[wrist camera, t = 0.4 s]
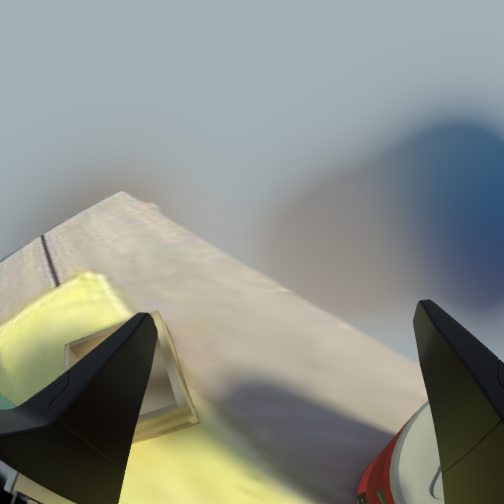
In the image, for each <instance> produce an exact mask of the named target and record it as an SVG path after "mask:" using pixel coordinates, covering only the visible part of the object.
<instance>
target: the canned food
mask: <svg viewBox="0 0 504 504" xmlns="http://www.w3.org/2000/svg"><path fill="white" fill-rule="evenodd" d="M357 504H444V494H443V484H442V473H441V466H440V459H439V453H438V446H437V440H436V435H435V429H434V424H433V419H432V414H431V409H430V404H429V400H428V401H427V402H426V403H425V404H424V405H423V406H422V407H421V408H420V409H419V410H418V411H417V412H416V413H415V414H414V415H413V416H412V417H411V418H410V419H409V421H408V422H406V424H405V425H404V426H403V427H402V429H401V430H400V431H399V432H398V433H397V435H396V436H395V437H394V438H393V439H392V440H391V442H390V443H389V444H388V445H387V446H386V447H385V448H384V449H383V451H382V452H381V453H380V454H379V455H378V456H377V457H376V458H375V459H374V460H373V461H372V463H371V464H370V465H369V466H368V467H367V469H366V471H365V472H364V474H363V475H362V478H361V480H360V483H359V486H358V491H357Z"/></svg>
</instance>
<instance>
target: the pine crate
mask: <svg viewBox="0 0 504 504" xmlns="http://www.w3.org/2000/svg"><path fill="white" fill-rule="evenodd" d="M149 314H150V315H151V316H152V319H153V321H154V323H155V325H156V327H157V330H158V337H157V342H156V348H155V353H154V359H153V364H152V369H151V374H150V377H149V381H148V384H147V388H146V392H145V395H144V399H143V402H142V406H141V410H140V413H139V417H138V421H137V425H136V429H135V433H134V437H133V441H132V444H133V443H136V442H140V441H144V440H147V439H151V438H154V437H157V436H161V435H164V434H167V433H170V432H173V431H176V430H179V429H182V428H185V427H188V426H191V425H194V424H197V423H200V422H199V420H198V417H197V414H196V412H195V409H194V406H193V403H192V400H191V397H190V395H189V392H188V389H187V386H186V383H185V380H184V377H183V374H182V371H181V368H180V365H179V361H178V358H177V355H176V352H175V348H174V345H173V342H172V338H171V335H170V331H169V330H168V328H167V326H166V324H165V322H164V321H163V319H162V317H161V315H160V313H159V311H158V310H156V311H153V312H151V313H149ZM125 323H126V322H124V323H122V324H119V325H116V326H114V327H111V328H108V329H106V330H103V331H100V332H98V333H95V334H92V335H90V336H87V337H84V338H81V339H79V340H76V341H73V342H70V343H68V344H65V355H64V373H65V372H66V371H67V370H68V369H70V368H71V367H72V366H73V365H74V364H75V363H77V362H78V361H79V360H80V359H82V358H83V357H84V356H85V355H86V354H88V353H89V352H90V351H91V350H92V349H94V348H95V347H96V346H97V345H99V344H100V343H101V342H102V341H104V340H105V339H106V338H107V337H108V336H110V335H111V334H112V333H113V332H115V331H116V330H117V329H118V328H120V327H121V326H122V325H123V324H125Z"/></svg>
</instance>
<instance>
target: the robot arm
mask: <svg viewBox="0 0 504 504" xmlns="http://www.w3.org/2000/svg"><path fill="white" fill-rule="evenodd" d="M413 326H414V332H415V337H416V343H417V349H418V354H419V362H420V367H421V371H422V375H423V379H424V383H425V387H426V391H427V396H428V400H429V404H430V409H431V414H432V419H433V424H434V429H435V435H436V440H437V446H438V453H439V459H440V466H441V473H442V484H443V494H444V504H504V363H503V362H502V361H501V360H500V359H499V360H498V357H497V356H496V355H494V354H493V353H492V352H491V351H490V350H489V349H488V348H487V347H486V346H485V345H483V344H482V343H481V342H480V341H479V340H478V339H477V338H476V337H474V336H473V335H472V334H471V333H470V332H469V331H467V330H466V329H465V328H464V327H463V326H462V325H461V324H459V323H458V322H457V321H456V320H455V319H454V318H452V317H451V316H450V315H449V314H448V313H446V312H445V311H444V310H443V309H441V308H440V307H439V306H438V305H437V304H435V303H434V302H433V301H431V300H429V299H427V300H420V301H419V302H418V304H417V307H416V311H415V315H414V319H413ZM157 337H158V330H157V327H156V325H155V323H154V321H153V319H152V316H151V315H150V314H149V313H145V312H140V313H137V314H136V315H135V316H133V317H132V318H131V319H130V320H128V321H127V322H126V323H125V324H123V325H122V326H121V327H120V328H118V329H117V330H116V331H115V332H113V333H112V334H111V335H110V336H108V337H107V338H106V339H105V340H104V341H102V342H101V343H100V344H99V345H97V346H96V347H95V348H94V349H92V350H91V351H90V352H89V353H88V354H86V355H85V356H84V357H83V358H82V359H80V360H79V361H78V362H77V363H75V364H74V365H73V366H72V367H71V368H70V369H68V370H67V371H66V372H65V373H63V374H62V375H61V376H60V377H58V378H57V379H56V380H55V381H53V382H52V383H51V384H49V385H48V386H47V387H45V388H44V389H43V390H41V391H40V392H38V393H37V394H35V395H34V396H33V397H31V398H30V399H28V400H27V401H26V402H24V403H23V404H21V405H20V406H17V407H15V408H12V409H0V504H118V503H119V498H120V493H121V489H122V484H123V480H124V475H125V470H126V466H127V461H128V457H129V453H130V449H131V445H132V441H133V437H134V433H135V429H136V425H137V421H138V417H139V413H140V410H141V406H142V402H143V399H144V395H145V392H146V388H147V384H148V381H149V377H150V374H151V369H152V364H153V359H154V353H155V348H156V342H157Z"/></svg>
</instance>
